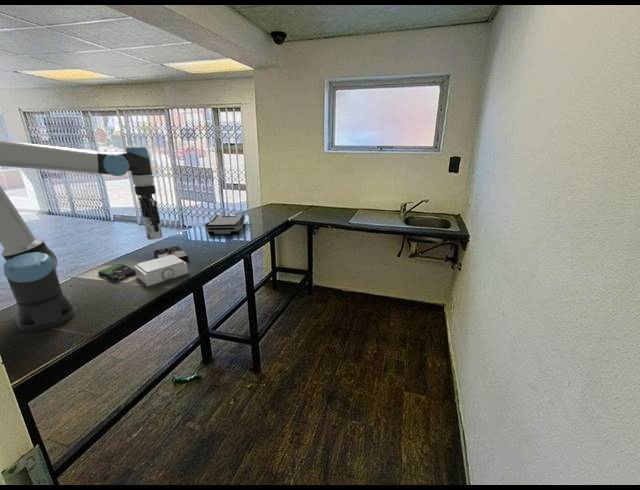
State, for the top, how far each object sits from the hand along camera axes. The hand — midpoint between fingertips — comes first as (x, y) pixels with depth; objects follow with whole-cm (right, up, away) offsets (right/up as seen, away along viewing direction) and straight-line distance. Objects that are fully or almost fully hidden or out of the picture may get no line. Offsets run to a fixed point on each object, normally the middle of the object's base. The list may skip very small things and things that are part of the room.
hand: (154, 236), depth 132 cm
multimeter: (-6, -12, +26) cm, 29 cm away
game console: (+8, +7, +78) cm, 79 cm away
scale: (0, -18, +7) cm, 19 cm away
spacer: (0, 0, 0) cm, 0 cm away
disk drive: (-21, -18, +7) cm, 29 cm away
